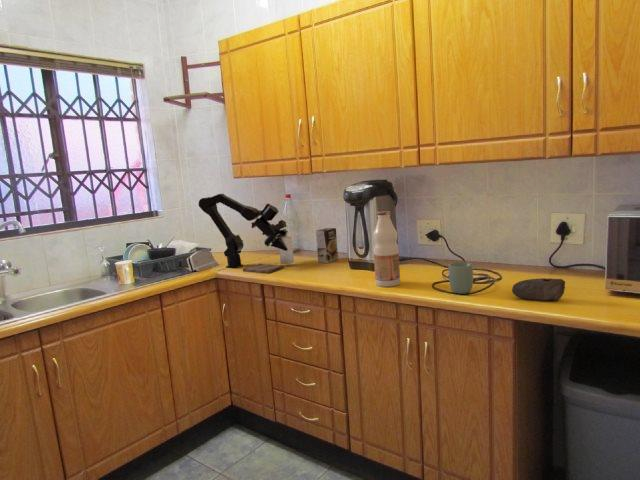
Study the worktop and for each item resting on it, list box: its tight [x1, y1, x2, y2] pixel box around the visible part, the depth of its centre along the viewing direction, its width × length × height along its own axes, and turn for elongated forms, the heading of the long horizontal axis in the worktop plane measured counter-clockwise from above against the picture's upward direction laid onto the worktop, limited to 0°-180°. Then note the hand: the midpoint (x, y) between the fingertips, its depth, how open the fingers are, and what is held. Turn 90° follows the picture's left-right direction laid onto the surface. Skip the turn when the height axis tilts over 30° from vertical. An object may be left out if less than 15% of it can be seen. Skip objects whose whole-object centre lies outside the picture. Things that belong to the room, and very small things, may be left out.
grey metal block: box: [186, 250, 219, 272], centre depth 232 cm, size 17×5×10 cm, turn 153°
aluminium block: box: [278, 235, 295, 265], centre depth 220 cm, size 5×5×13 cm
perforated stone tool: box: [511, 277, 566, 302], centre depth 140 cm, size 15×5×7 cm, turn 61°
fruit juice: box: [372, 210, 401, 288], centre depth 170 cm, size 9×9×28 cm
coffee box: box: [315, 227, 339, 264], centre depth 223 cm, size 9×6×16 cm
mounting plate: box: [242, 263, 285, 275], centre depth 216 cm, size 16×12×1 cm
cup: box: [448, 261, 474, 295], centre depth 153 cm, size 8×8×10 cm
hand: (288, 249), depth 219 cm, fingers closed on aluminium block, 5 cm apart
